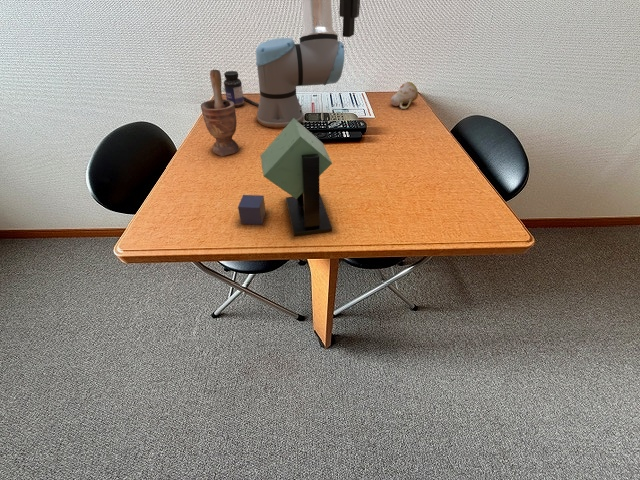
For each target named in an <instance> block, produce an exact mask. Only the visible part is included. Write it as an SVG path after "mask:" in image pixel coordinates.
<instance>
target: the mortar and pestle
mask: <svg viewBox="0 0 640 480" xmlns="http://www.w3.org/2000/svg"><path fill="white" fill-rule="evenodd" d="M209 77H210V78H209V79H210V85H211V89H212V92H213V98H214V99H210V100H206V101H204V102H202V103H201V104H200V109H201V112H202V117H203V121H204V125H205V127H206V129H207V131H208V133H209V135H210V136H211V137H213V138H214V139H215V142H214V143H213V145H212V152H213V153H214V154H215V155H218V156H220V157H225V156H229V155H232V154H233V155H234V154H236V153H238V151H239V150H240V147H239V145H238V143H237V142H236V141H235V139H233V137H234V135H235V133H236V132H237V131H236V130H237V115H236V107H235V105H234V102H233V101H230V100H227V99H226V98H223V95H222V73H221V71H220V70H218V69H211V70H210V71H209Z"/></svg>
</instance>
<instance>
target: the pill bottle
mask: <svg viewBox="0 0 640 480" xmlns="http://www.w3.org/2000/svg"><path fill="white" fill-rule="evenodd" d="M223 74H224V78H225V79H224V80H223V86H224V93H225V99H226V100H230V101H233V102H234V105H235V108H241V107H243V106H244V105H245V100H244V98H243V97H244V92H243V85H242V80H241V79H239V72H238V71H236V70H228V71H227V70H226V71H225V72H224V73H223Z"/></svg>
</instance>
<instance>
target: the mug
mask: <svg viewBox="0 0 640 480" xmlns="http://www.w3.org/2000/svg"><path fill="white" fill-rule="evenodd" d="M418 96H419V90H418V88H417V86H416V84H415V83H413V82H411V81H406V82H404V83H403V84H401V85H400V87H399V89H398V90H397V92H395V93H394V94H393V95H392V96H391V98H390V103H391V105H392V106H394V107H399V109H401V110H406V109H408V108H409V107H410V106H411V104H412V103H414V102H415V101H416V100H417V99H418ZM404 104H407V105H406V106H404Z"/></svg>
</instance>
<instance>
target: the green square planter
mask: <svg viewBox="0 0 640 480" xmlns="http://www.w3.org/2000/svg"><path fill="white" fill-rule="evenodd" d="M310 154H318V155H319V177H321V175H322V174H324V172H326V170H327V169H328V168H329V167H330V166H331V165H332V164H333V161H332V160H331V157H330V155H329V153H328V151H327V148H326V146H325V143H323V142H322V141H321V140H320V139H318V138H317V137H316V136H315V135H314V134H313V133H312V132H311V131H309V130H308V129H307V128H306V127H305V126H303V125H302V124H301V122H300V123H299V122H298V121H297V120H296V119H294V118H293V119H292V120H291V122H290V123H289V124H288V125H287V126H286V127H285V128H283V130H281V131H280V133H279V134H278V135H277V136H276V137H275V138H274V140H273V141H272V142H270V144H269V145H268V146H267V147H266V149H265V150H264V151H263V152H262V153H261V154H260V163H261V168H262V169H261V170H262V175H263V177H264V178H265V179H267V180H268V181H269V182H271V183H272V184H274V185H275V186H277V187H278V188H280V189H281V190H282V191H284V192H285V193H286V194H288V195H290V197H294V198H295V199H297V198H298V197H299V196H300V195H301V194H302V193H303V180H302V155H310Z"/></svg>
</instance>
